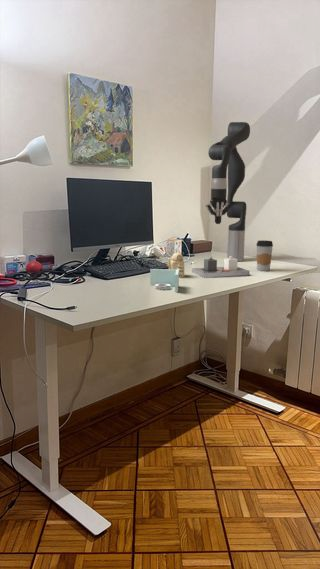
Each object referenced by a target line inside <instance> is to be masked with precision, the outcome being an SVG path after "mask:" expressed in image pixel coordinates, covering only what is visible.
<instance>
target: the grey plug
mask: <svg viewBox="0 0 320 569" xmlns="http://www.w3.org/2000/svg"><path fill="white" fill-rule="evenodd" d="M217 267H218V260H217V259H214V258H213V257H212V256H209V257H208V258H205V259H204V260H203V268H204V271H206V272H208V271H217Z"/></svg>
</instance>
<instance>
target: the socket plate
mask: <svg viewBox="0 0 320 569" xmlns="http://www.w3.org/2000/svg"><path fill="white" fill-rule="evenodd" d="M191 273H193V274H195V275H197V276H199V277H201V278H203V277H204V279H205V277H206V278H207V277H213V278H230V277H231V278H233V277H236V278H237V277H250V270H248V269H246V268H243V267H239V266H237V270H228V269H224V266H217V271H208V272H206V271H204V267H194V268H193V267H192V268H191ZM207 279H208V278H207Z"/></svg>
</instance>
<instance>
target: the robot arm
mask: <svg viewBox="0 0 320 569" xmlns="http://www.w3.org/2000/svg"><path fill="white" fill-rule="evenodd" d="M250 134H251V125H250V123H248V122H247V121H232V122H229V124H228V126H227V135H226V136H225V137H223V138H222V139H221V140H220V141H218V142H215V143H213V144H212V145H210V147H209V148H208V157H209V159H211V160H212V161H221V162H220V164H218V165H217V164H216V165H213V166H212V168H211V183H210V187H211V188H210V201H209V203H208V204H205V207H206V209H207V211H209V213H210V215H212V216H214V223H215V224H216V225H221V223H222V216H225V215H226V216H227V218H228V219H239V220H238V221H236V222H235V223H231V224H229V225H228V236H227V239H228V240H227V249H226V250H227V256H226V258H229V256H233V258H235V259H237V262H243V261H245V240H246V239H245V237H246V215H247V203H246V201H233V200H234V197H235V195H236V193H237V191H238V189H239V188H240V187H241V185H242V184H243V182H244V181H245V177H246V164H245V161H244V160H243V158H242V156H241V155H240V153H239V152H238V148H237V146H238V145H239V144H241V143H243V142H245V141H246V140H248V139H249V137H250Z"/></svg>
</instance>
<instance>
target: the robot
mask: <svg viewBox="0 0 320 569" xmlns="http://www.w3.org/2000/svg"><path fill="white" fill-rule="evenodd" d="M180 247H181V246H180V245H177V248H180ZM178 250H179V249H176V252H174V253H173V254H172V255H171V259H170V257H169V258H167V263H168V264H166V267H168V269H167V270H179V277H180V278H179V279H182V278H185V277H187V276H188V275H187V274H185V261H184V256H183V254H182V253H180V252H178ZM181 277H182V278H181Z"/></svg>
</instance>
